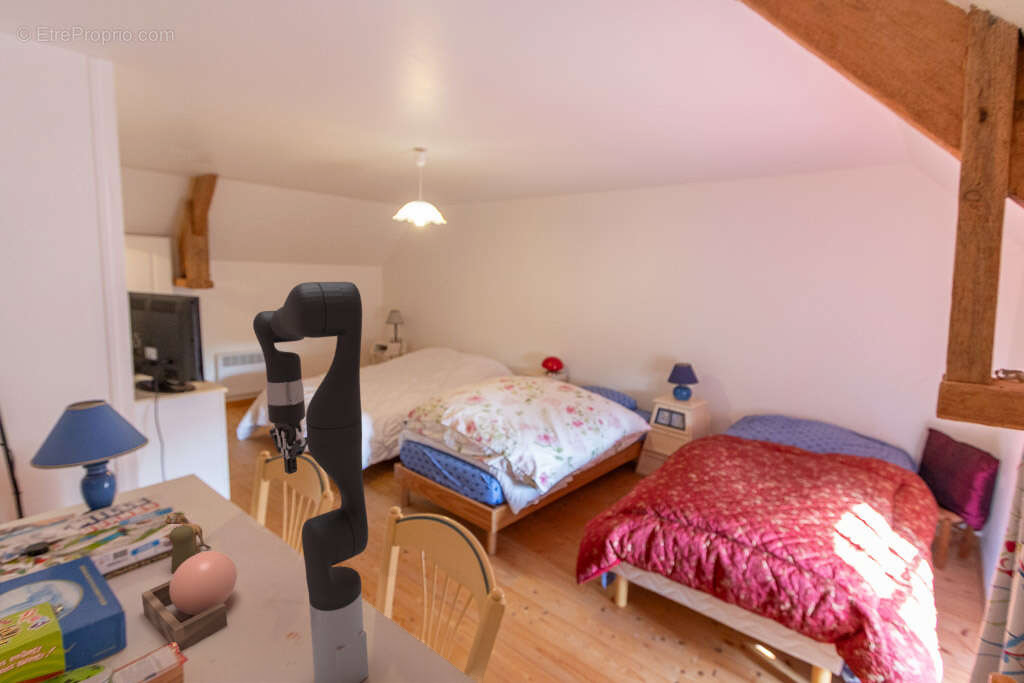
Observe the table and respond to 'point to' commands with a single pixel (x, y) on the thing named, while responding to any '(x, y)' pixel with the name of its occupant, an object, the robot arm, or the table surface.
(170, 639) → the stall
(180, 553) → the cork
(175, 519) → the lion figurine
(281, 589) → the table surface
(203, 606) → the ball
